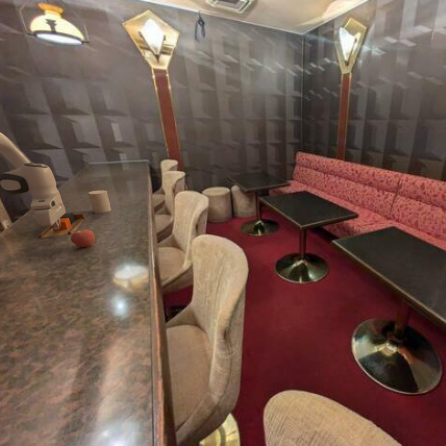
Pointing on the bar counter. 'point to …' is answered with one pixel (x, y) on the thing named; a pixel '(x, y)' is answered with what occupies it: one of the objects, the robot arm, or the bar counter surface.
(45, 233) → the jig
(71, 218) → the black block
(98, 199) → the cup
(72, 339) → the bar counter surface
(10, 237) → the bar counter surface
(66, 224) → the orange block
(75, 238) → the apple
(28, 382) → the bar counter surface
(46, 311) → the bar counter surface
